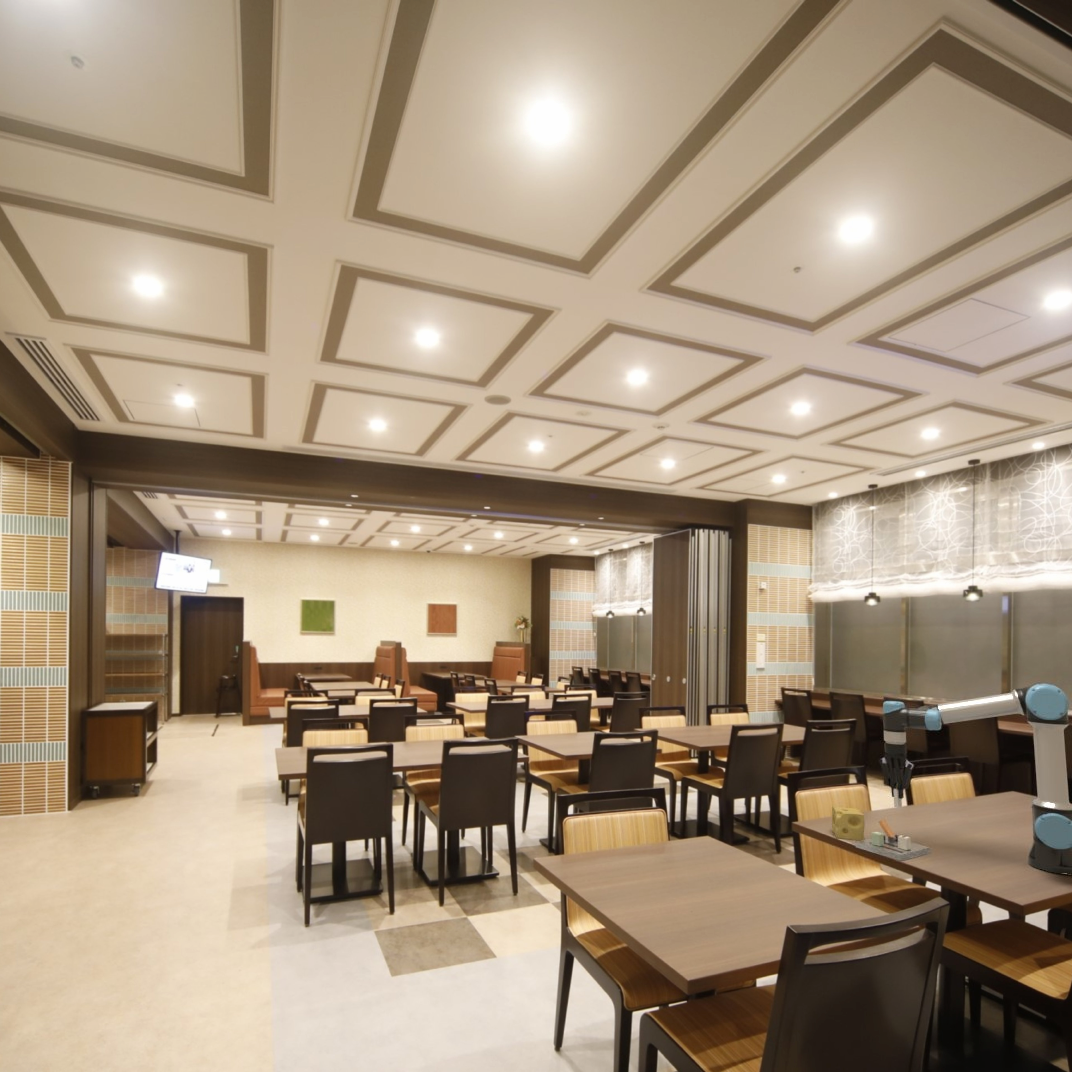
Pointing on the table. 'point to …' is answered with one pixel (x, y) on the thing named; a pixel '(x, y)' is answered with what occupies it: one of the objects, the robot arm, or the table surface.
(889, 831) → the lever orange
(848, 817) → the cheese
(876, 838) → the slider sage
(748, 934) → the table surface
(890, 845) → the panel
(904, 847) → the slider ivory
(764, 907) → the table surface
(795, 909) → the table surface
